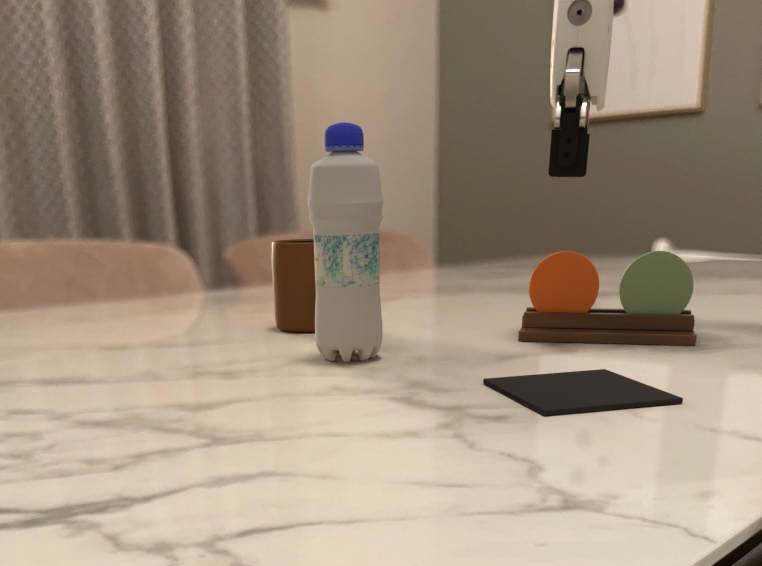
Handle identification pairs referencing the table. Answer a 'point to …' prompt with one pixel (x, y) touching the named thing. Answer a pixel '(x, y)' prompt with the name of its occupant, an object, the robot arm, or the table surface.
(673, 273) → the green disc
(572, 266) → the orange disc
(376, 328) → the bottle
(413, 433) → the table surface
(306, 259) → the mug
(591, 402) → the mat
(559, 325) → the disc rack
